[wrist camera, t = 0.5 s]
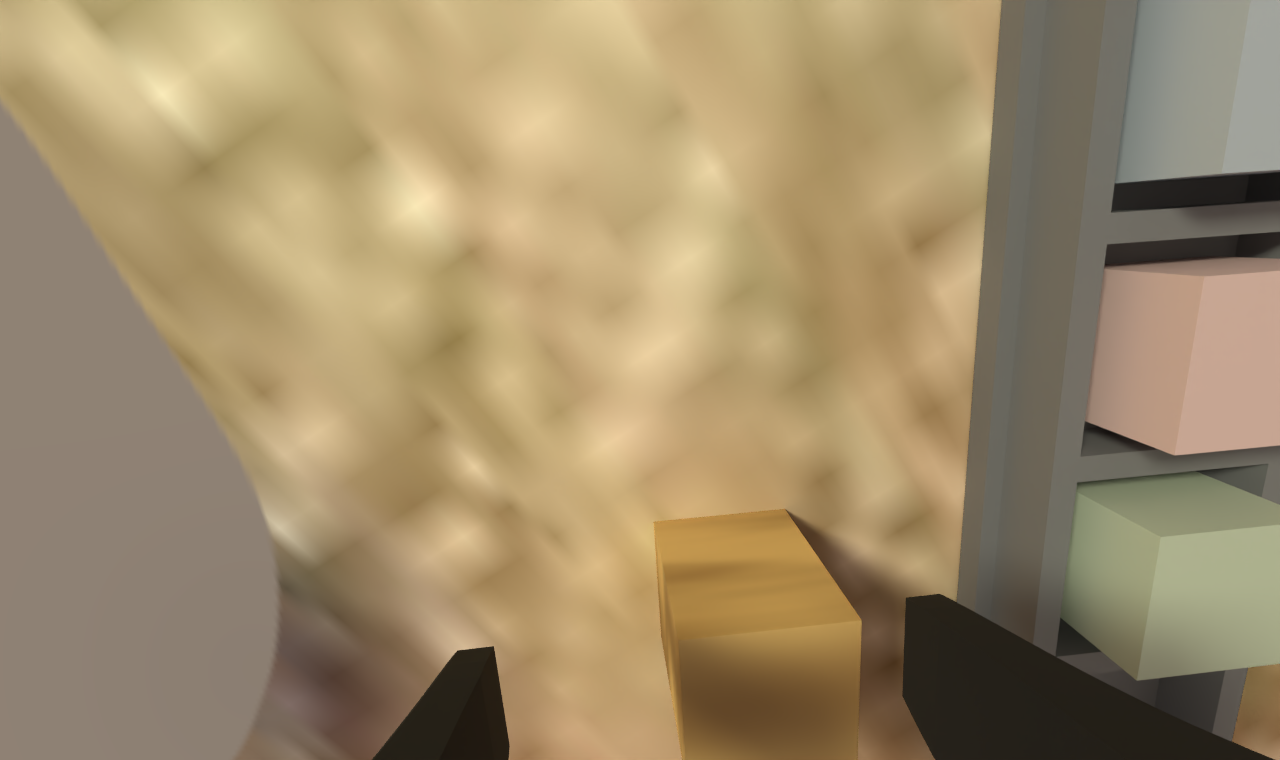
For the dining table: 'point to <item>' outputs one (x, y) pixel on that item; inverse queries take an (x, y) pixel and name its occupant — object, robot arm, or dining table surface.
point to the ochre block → (756, 641)
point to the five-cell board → (1062, 330)
